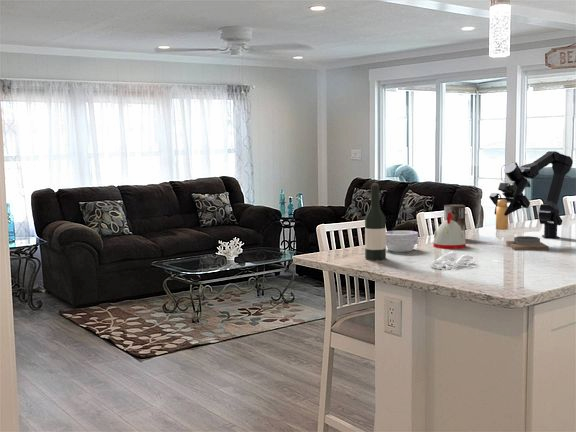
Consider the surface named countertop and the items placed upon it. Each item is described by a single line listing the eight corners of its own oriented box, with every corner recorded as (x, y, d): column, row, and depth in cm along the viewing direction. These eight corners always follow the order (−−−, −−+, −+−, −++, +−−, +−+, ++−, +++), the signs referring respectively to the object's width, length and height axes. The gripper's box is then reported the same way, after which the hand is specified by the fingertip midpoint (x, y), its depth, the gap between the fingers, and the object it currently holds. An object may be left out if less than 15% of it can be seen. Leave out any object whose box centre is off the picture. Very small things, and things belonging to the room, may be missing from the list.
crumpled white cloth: (452, 276, 240) (453, 264, 239) (419, 267, 250) (419, 257, 249) (481, 266, 253) (481, 256, 252) (448, 259, 263) (448, 249, 263)
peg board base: (506, 244, 299) (506, 235, 299) (538, 244, 298) (539, 235, 297) (514, 250, 283) (514, 240, 283) (548, 250, 282) (548, 240, 281)
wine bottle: (387, 257, 272) (387, 183, 269) (383, 260, 264) (383, 184, 261) (367, 256, 275) (367, 183, 271) (362, 259, 267) (362, 184, 263)
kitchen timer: (430, 248, 293) (430, 214, 291) (436, 243, 305) (436, 210, 304) (463, 249, 287) (463, 214, 286) (467, 244, 300) (468, 211, 298)
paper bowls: (383, 247, 297) (383, 229, 296) (418, 247, 294) (418, 229, 293) (381, 253, 282) (381, 234, 281) (418, 253, 279) (418, 234, 278)
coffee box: (463, 238, 319) (463, 204, 318) (465, 240, 313) (465, 205, 311) (443, 238, 320) (443, 204, 318) (445, 240, 314) (445, 205, 312)
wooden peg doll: (494, 228, 301) (494, 199, 299) (505, 228, 301) (506, 199, 299) (498, 230, 295) (498, 200, 294) (509, 229, 296) (510, 200, 294)
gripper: (492, 175, 305) (474, 201, 301) (526, 176, 290) (508, 204, 285) (503, 191, 310) (486, 217, 306) (537, 193, 295) (520, 221, 290)
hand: (500, 214), depth 297 cm, fingers closed on wooden peg doll, 5 cm apart
